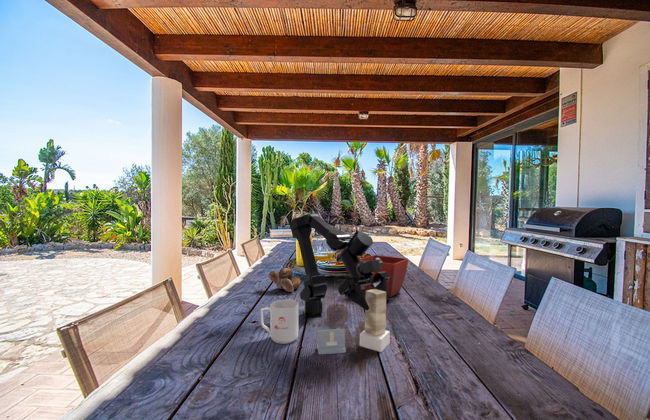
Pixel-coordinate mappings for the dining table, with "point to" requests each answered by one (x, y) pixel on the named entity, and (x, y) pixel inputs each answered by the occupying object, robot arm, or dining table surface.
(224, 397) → the dining table surface
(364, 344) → the white slab
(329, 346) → the plaque
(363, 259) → the plant pot
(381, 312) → the maple pillar
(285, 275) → the brown lumpy cluster
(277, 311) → the mug
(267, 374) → the dining table surface
